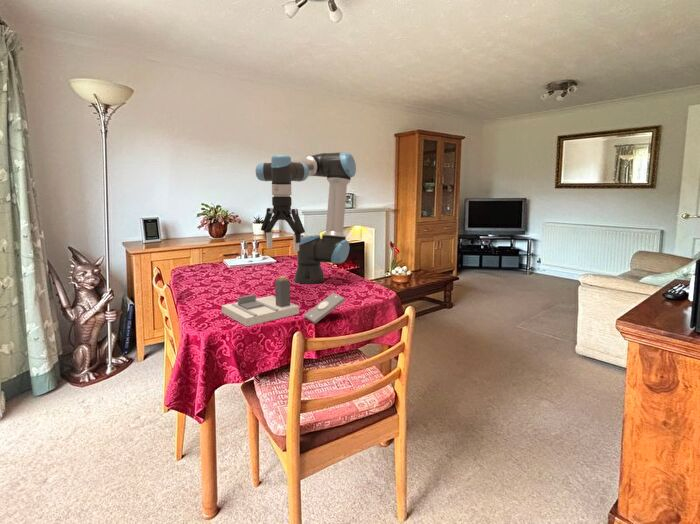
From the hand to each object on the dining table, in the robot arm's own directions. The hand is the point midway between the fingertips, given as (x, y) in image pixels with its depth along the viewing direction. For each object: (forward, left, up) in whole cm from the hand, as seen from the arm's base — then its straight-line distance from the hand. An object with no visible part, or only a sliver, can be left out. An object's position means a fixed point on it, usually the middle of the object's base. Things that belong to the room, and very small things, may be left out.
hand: (282, 249), depth 162 cm
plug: (+8, -6, -20) cm, 22 cm away
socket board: (+3, -13, -23) cm, 26 cm away
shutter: (+1, -16, -20) cm, 25 cm away
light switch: (+23, +3, -23) cm, 33 cm away
